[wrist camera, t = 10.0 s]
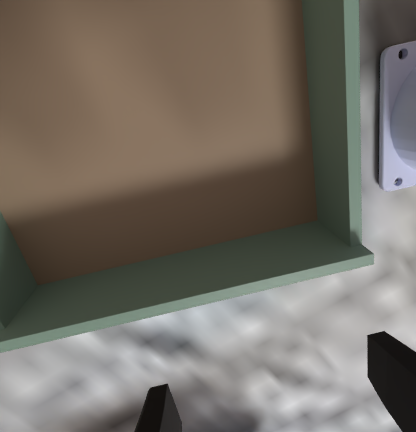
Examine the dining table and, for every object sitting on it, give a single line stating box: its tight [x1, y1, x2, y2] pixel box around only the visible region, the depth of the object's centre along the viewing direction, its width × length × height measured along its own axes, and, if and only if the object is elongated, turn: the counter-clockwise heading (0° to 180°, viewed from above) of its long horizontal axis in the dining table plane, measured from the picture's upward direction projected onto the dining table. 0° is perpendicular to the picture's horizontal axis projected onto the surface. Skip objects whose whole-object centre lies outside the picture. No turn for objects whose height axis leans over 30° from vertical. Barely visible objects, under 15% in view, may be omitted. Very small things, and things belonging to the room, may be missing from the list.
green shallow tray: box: [0, 0, 374, 353], centre depth 13 cm, size 19×17×5 cm
